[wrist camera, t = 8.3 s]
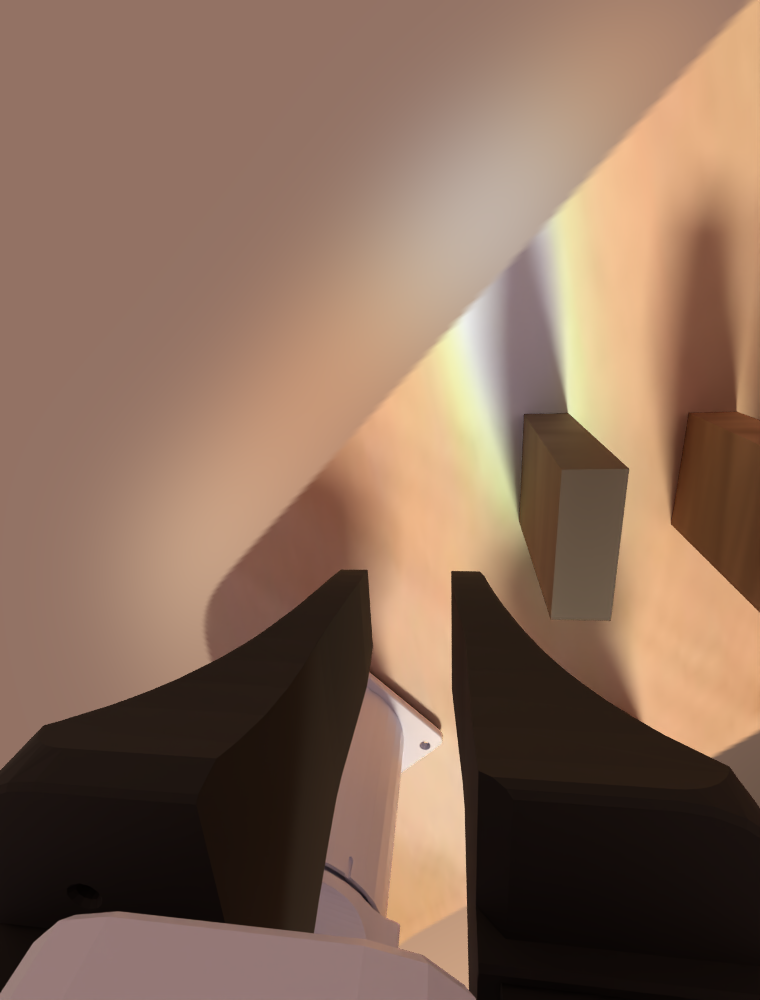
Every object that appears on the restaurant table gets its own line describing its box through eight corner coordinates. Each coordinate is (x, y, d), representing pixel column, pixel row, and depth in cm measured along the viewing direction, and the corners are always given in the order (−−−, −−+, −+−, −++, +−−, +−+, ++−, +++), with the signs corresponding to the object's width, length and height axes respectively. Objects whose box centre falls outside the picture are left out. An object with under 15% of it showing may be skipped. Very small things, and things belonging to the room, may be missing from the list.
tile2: (671, 524, 20) (776, 628, 14) (688, 413, 19) (816, 471, 12) (715, 524, 20) (842, 630, 13) (736, 411, 18) (893, 470, 12)
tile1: (519, 521, 21) (550, 619, 14) (523, 414, 19) (561, 469, 13) (559, 521, 21) (610, 620, 14) (567, 413, 19) (629, 468, 13)
